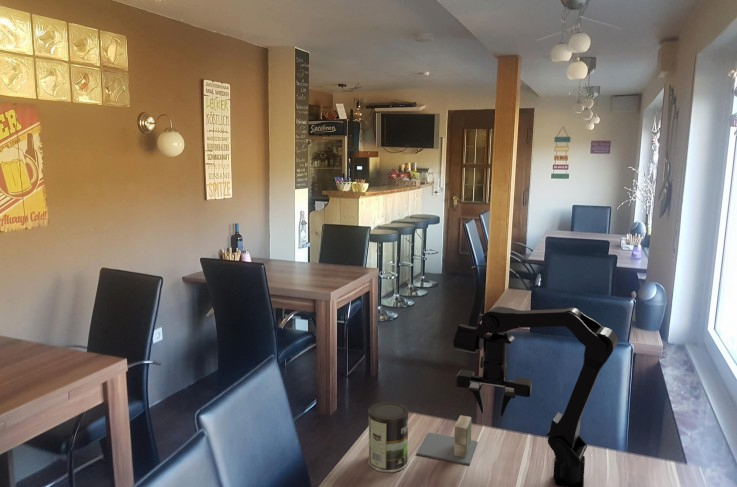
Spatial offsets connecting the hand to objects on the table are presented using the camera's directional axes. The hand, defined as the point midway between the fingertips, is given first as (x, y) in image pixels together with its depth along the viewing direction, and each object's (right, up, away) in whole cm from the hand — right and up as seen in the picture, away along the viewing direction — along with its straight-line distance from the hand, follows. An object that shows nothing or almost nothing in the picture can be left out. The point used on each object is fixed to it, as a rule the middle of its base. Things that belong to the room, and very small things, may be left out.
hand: (492, 414), depth 140 cm
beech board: (-7, -11, +4) cm, 14 cm away
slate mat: (-11, -11, +6) cm, 17 cm away
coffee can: (-27, -12, -1) cm, 30 cm away
